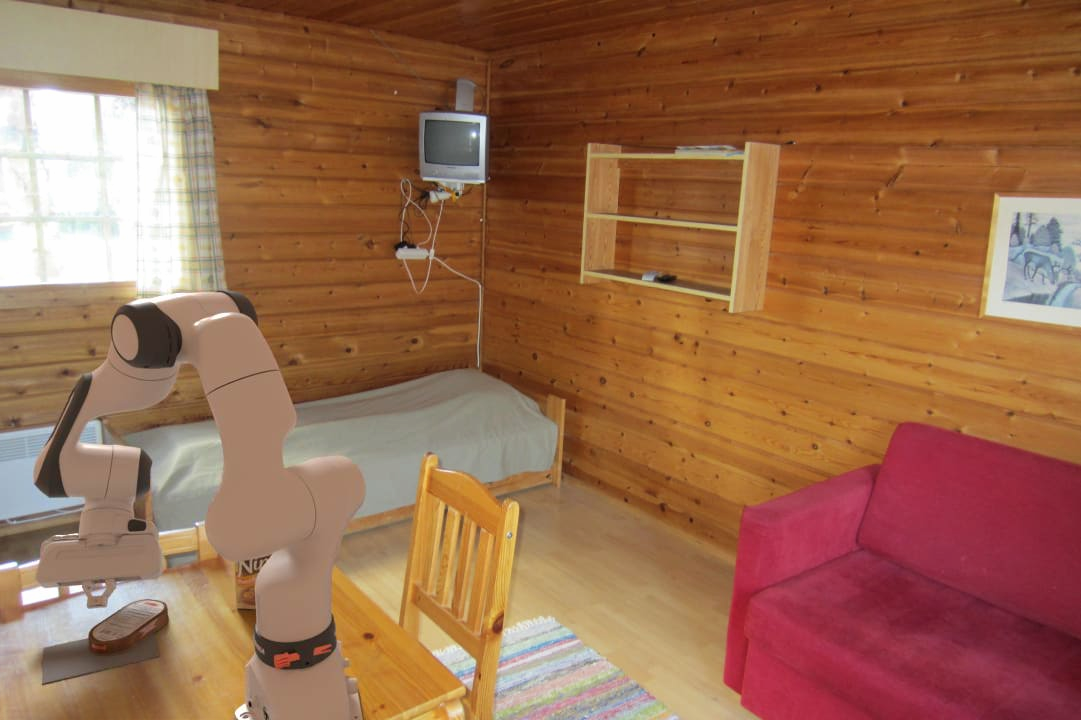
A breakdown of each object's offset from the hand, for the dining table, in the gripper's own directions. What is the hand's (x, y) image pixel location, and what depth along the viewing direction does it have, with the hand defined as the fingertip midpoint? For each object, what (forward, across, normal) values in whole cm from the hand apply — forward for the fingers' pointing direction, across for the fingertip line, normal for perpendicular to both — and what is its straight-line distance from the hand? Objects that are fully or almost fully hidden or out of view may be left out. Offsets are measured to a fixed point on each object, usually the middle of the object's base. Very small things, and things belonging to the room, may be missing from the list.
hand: (96, 607), depth 143 cm
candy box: (0, +27, +8) cm, 28 cm away
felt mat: (+8, +2, 0) cm, 8 cm away
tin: (+1, +1, +4) cm, 4 cm away
